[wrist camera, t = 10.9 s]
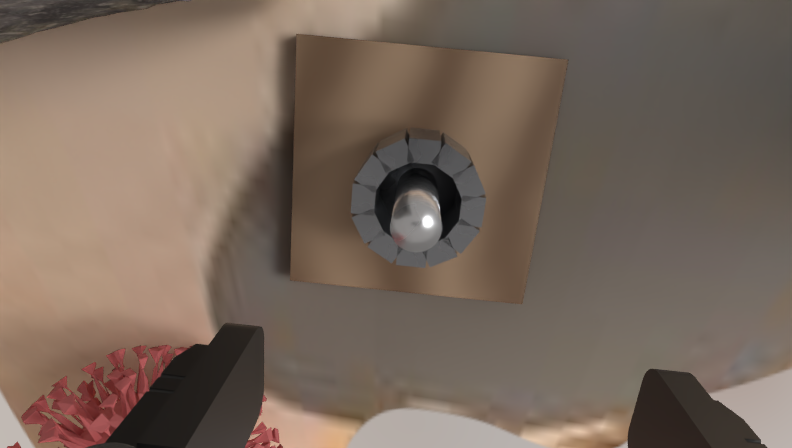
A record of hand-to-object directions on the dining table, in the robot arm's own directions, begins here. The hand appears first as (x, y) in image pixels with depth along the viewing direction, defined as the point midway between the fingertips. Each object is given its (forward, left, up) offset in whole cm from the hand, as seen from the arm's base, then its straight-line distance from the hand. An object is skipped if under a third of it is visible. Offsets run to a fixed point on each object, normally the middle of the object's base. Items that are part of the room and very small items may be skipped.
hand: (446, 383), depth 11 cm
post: (+1, 0, -19) cm, 19 cm away
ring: (+1, 0, -17) cm, 17 cm away
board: (+1, 0, -20) cm, 20 cm away
